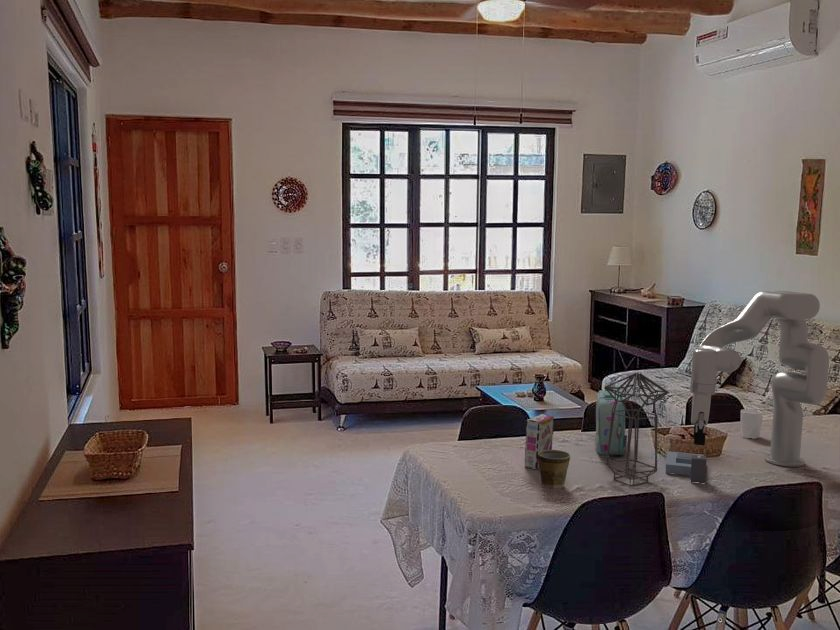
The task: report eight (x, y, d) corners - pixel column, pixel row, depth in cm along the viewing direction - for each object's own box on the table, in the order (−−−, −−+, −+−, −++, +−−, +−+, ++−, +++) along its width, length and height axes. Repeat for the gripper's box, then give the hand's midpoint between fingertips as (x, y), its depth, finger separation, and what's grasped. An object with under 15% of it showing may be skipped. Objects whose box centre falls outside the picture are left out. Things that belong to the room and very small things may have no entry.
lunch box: (626, 460, 281) (629, 400, 279) (596, 459, 283) (599, 398, 280) (621, 440, 307) (623, 384, 305) (593, 438, 309) (595, 383, 306)
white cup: (735, 434, 318) (736, 409, 317) (754, 433, 319) (756, 408, 318) (745, 439, 311) (747, 414, 309) (765, 439, 311) (766, 413, 310)
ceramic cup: (574, 489, 251) (575, 457, 250) (545, 491, 248) (546, 460, 247) (556, 476, 264) (557, 446, 262) (527, 478, 261) (528, 448, 260)
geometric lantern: (595, 477, 263) (601, 370, 260) (632, 471, 271) (637, 367, 268) (630, 491, 250) (636, 378, 246) (667, 484, 257) (674, 375, 254)
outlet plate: (666, 459, 283) (667, 450, 283) (703, 463, 280) (703, 454, 279) (665, 473, 268) (665, 463, 268) (703, 477, 265) (704, 467, 264)
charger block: (690, 478, 263) (691, 454, 262) (704, 480, 262) (706, 455, 261) (690, 482, 259) (691, 457, 258) (705, 484, 258) (706, 459, 257)
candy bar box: (537, 470, 269) (539, 422, 267) (524, 467, 272) (525, 419, 270) (552, 462, 278) (554, 415, 276) (539, 459, 281) (541, 413, 279)
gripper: (690, 382, 266) (686, 433, 268) (690, 392, 250) (686, 446, 252) (714, 384, 264) (710, 435, 266) (716, 394, 247) (712, 449, 249)
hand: (698, 440), depth 259 cm, fingers open, 9 cm apart
